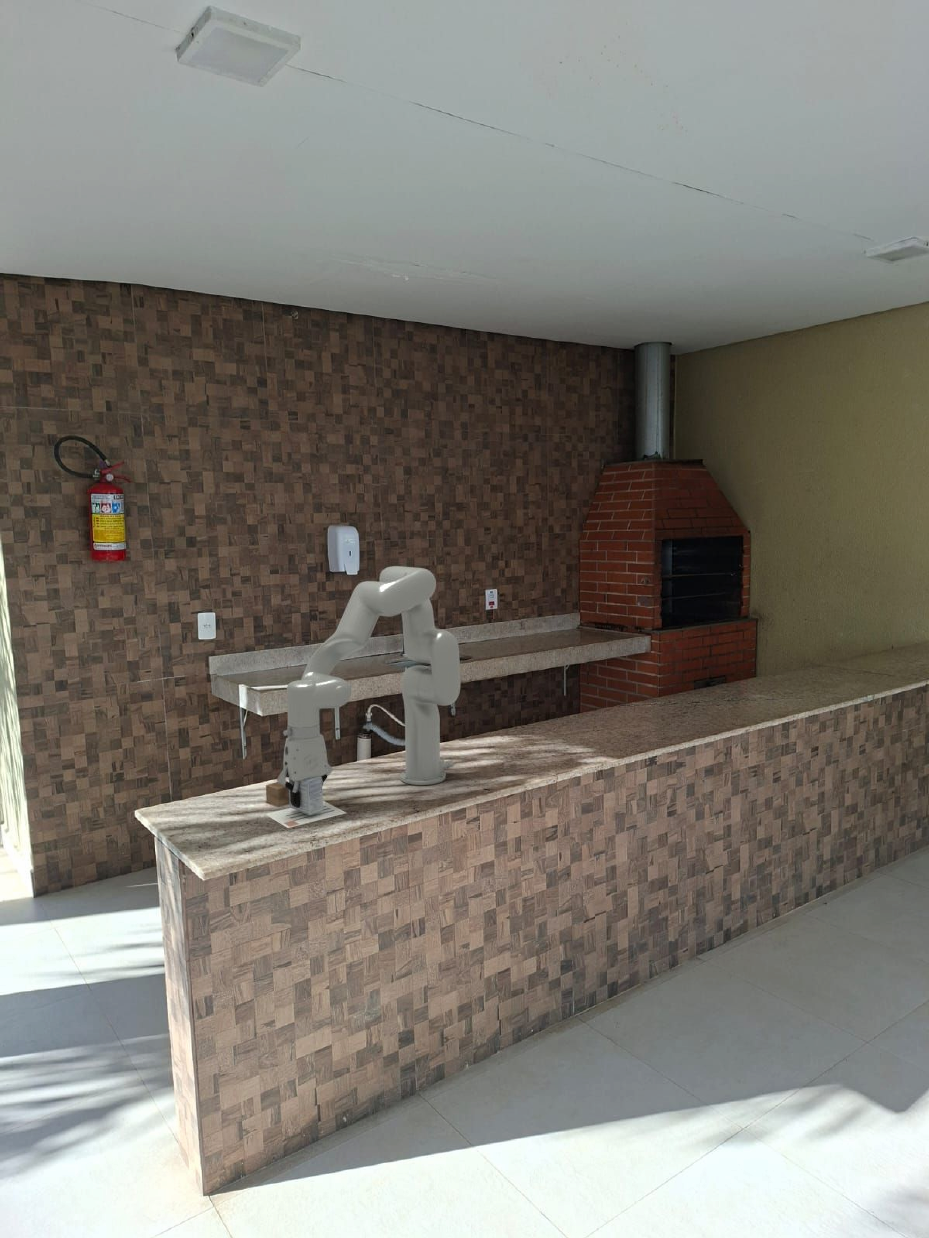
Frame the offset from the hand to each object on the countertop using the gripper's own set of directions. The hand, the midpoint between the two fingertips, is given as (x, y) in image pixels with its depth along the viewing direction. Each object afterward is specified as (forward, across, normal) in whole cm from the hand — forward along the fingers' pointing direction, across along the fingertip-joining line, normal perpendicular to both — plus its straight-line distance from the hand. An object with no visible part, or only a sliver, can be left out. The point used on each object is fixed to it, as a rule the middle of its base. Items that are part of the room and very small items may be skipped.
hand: (306, 803), depth 214 cm
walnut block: (+3, -1, +11) cm, 12 cm away
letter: (+3, 0, 0) cm, 3 cm away
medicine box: (+2, 0, 0) cm, 2 cm away
